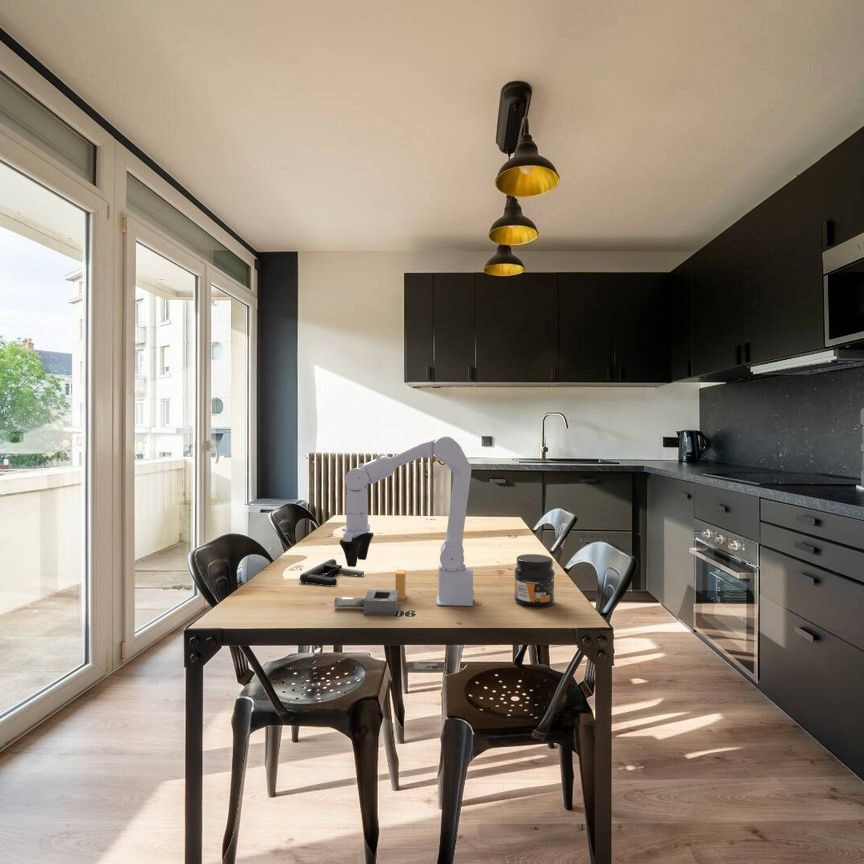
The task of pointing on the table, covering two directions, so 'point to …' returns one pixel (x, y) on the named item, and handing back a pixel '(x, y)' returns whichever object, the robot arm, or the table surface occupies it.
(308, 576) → the door handle
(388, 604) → the grey peg hole fixture
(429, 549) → the table surface
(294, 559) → the table surface
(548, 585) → the supplement container
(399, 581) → the tall orange cuboid
